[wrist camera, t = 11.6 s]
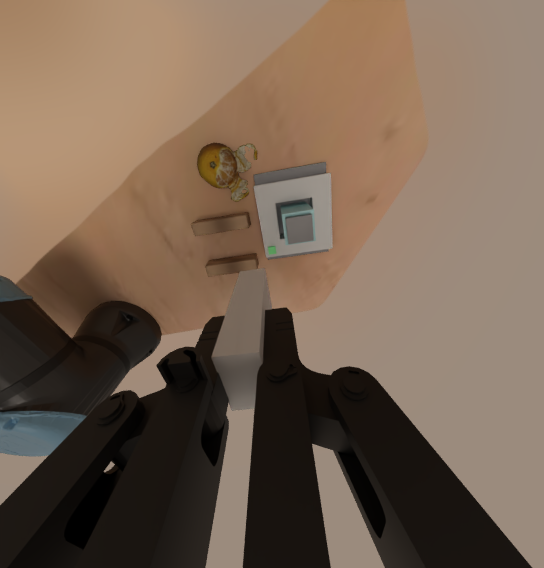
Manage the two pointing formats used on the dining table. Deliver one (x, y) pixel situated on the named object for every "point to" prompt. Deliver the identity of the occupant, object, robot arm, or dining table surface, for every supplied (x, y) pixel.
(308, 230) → the plug
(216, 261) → the pair of wooden rails
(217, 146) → the fruit
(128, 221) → the dining table surface
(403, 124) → the dining table surface
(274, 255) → the port
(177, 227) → the dining table surface
